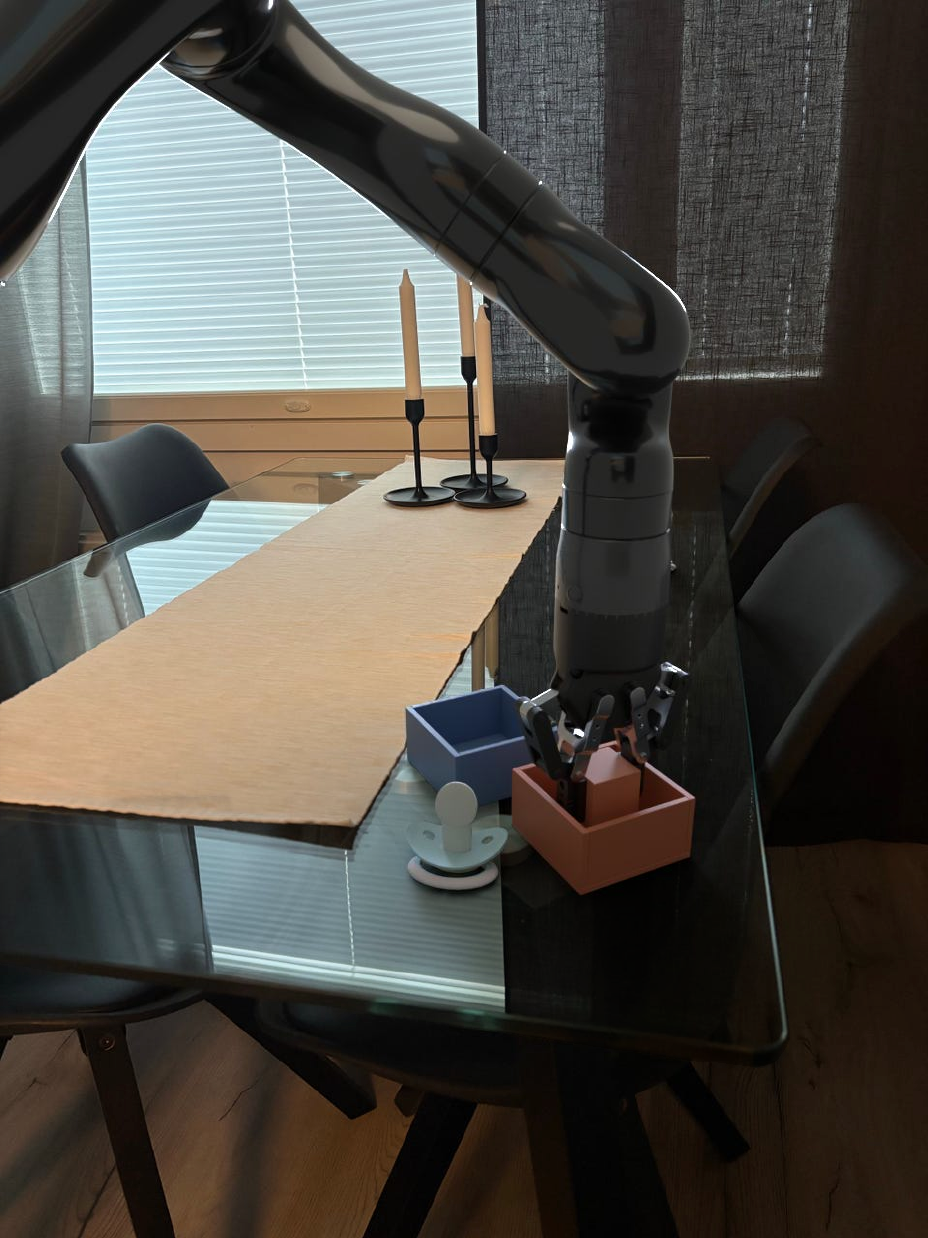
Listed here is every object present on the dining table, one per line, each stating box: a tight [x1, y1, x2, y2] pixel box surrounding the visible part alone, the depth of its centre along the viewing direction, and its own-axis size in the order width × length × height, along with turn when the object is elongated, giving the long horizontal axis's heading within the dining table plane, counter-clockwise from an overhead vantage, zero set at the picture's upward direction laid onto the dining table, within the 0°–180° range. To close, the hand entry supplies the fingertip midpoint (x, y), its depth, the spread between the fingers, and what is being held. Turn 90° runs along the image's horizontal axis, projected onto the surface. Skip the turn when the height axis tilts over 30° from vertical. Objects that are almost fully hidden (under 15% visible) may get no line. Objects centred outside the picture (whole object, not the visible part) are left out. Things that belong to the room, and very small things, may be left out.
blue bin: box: [404, 684, 559, 807], centre depth 80 cm, size 10×10×5 cm
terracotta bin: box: [511, 740, 696, 896], centre depth 70 cm, size 10×10×5 cm
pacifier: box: [405, 782, 509, 891], centre depth 67 cm, size 7×6×6 cm
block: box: [581, 747, 641, 828], centre depth 69 cm, size 4×4×4 cm
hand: (599, 809), depth 70 cm, fingers closed on block, 4 cm apart
